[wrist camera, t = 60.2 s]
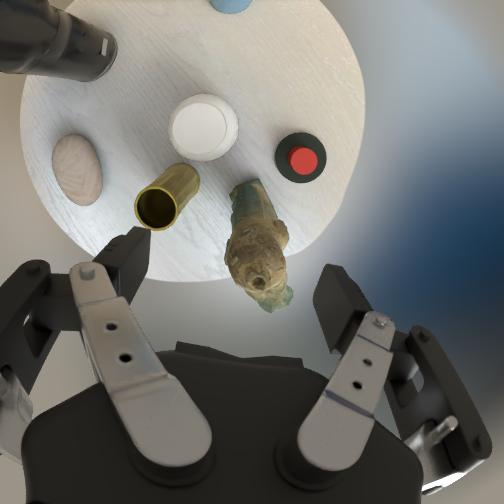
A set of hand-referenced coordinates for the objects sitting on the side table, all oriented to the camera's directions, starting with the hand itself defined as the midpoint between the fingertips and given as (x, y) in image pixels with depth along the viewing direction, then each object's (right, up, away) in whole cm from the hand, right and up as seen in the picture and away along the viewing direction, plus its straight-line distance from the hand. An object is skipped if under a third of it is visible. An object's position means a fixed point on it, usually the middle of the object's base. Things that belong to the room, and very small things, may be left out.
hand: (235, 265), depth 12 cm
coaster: (+8, +15, +29) cm, 33 cm away
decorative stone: (-28, +15, +27) cm, 42 cm away
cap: (+8, +15, +28) cm, 33 cm away
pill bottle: (-5, +19, +26) cm, 33 cm away
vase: (-10, +12, +30) cm, 34 cm away
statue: (+1, +8, +32) cm, 33 cm away
